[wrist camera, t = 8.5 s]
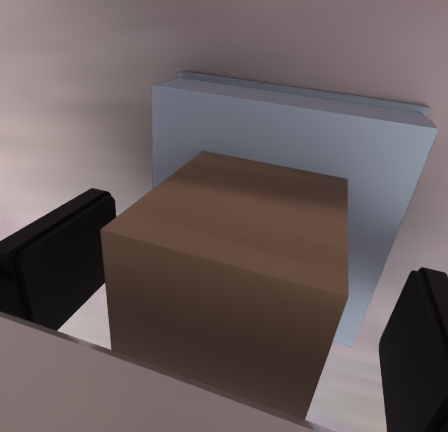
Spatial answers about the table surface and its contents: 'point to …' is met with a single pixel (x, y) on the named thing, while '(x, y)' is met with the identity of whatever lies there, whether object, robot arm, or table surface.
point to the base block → (305, 154)
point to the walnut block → (232, 277)
